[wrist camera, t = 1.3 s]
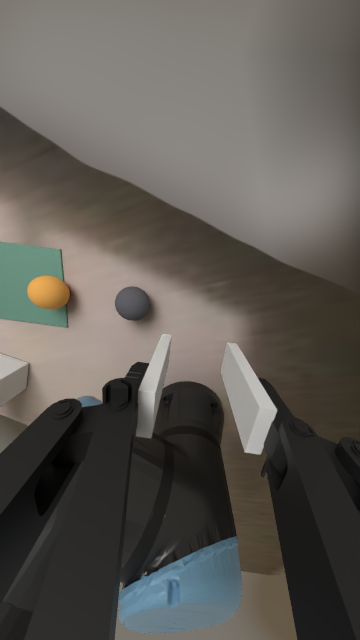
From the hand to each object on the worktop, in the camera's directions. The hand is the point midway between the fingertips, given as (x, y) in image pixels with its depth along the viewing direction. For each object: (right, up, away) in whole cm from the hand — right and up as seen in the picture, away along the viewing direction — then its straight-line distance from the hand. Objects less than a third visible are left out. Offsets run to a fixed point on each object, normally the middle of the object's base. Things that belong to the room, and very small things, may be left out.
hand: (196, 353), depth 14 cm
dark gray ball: (-9, +5, +13) cm, 17 cm away
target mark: (-29, +9, +17) cm, 35 cm away
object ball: (-23, +7, +14) cm, 28 cm away
